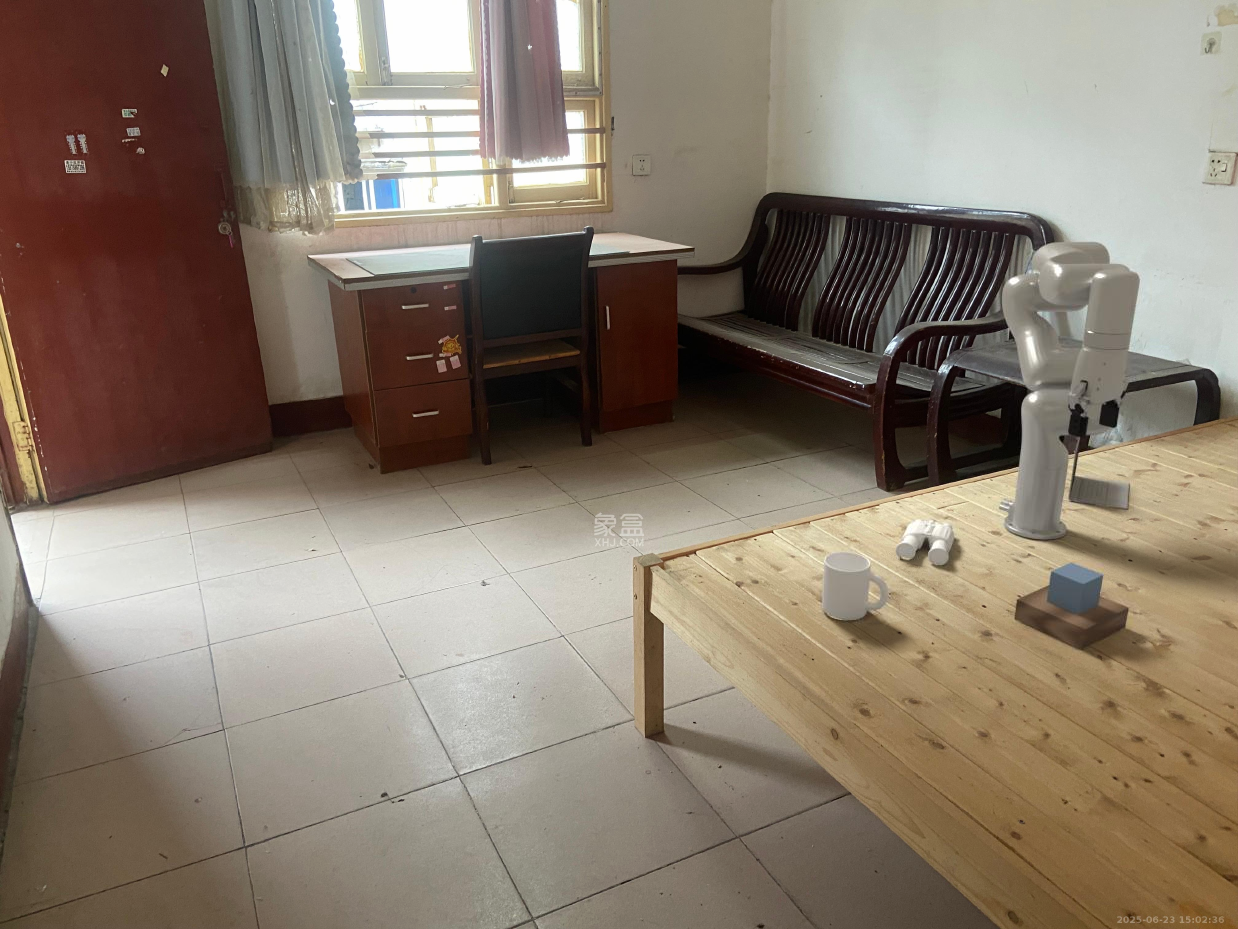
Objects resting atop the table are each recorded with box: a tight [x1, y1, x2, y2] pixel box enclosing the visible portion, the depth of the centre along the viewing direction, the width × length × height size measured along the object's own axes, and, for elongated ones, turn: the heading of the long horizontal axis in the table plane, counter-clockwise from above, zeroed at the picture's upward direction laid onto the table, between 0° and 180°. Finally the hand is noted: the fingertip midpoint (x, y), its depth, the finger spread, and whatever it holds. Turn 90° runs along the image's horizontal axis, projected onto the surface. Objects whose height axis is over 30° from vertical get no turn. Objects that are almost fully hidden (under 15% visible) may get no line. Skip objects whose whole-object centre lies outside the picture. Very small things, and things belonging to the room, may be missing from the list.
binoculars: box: [895, 518, 955, 566], centre depth 193 cm, size 10×16×5 cm, turn 154°
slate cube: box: [1047, 562, 1104, 615], centre depth 160 cm, size 6×6×6 cm
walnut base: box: [1013, 584, 1130, 651], centre depth 162 cm, size 13×13×4 cm
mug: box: [821, 551, 889, 621], centre depth 166 cm, size 12×8×10 cm
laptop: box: [1067, 437, 1130, 510], centre depth 217 cm, size 18×12×13 cm
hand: (1092, 430), depth 169 cm, fingers open, 9 cm apart
